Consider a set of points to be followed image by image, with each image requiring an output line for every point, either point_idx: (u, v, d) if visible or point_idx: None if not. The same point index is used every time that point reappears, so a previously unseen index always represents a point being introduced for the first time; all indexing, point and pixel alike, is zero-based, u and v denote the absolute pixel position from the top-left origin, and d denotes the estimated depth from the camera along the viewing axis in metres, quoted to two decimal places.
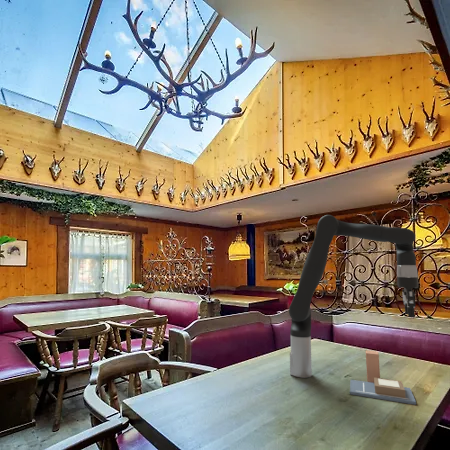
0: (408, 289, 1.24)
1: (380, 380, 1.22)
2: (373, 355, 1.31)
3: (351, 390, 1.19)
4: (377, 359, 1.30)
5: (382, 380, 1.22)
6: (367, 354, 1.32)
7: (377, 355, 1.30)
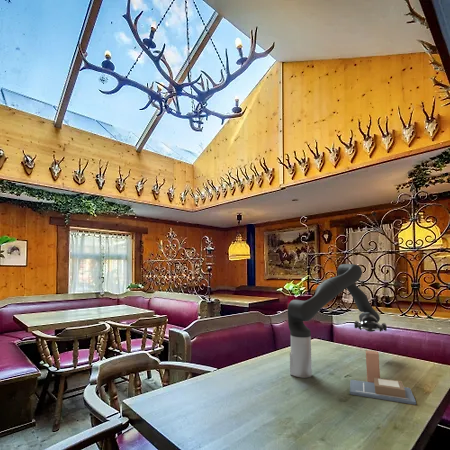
0: None
1: (380, 380, 1.22)
2: (373, 355, 1.31)
3: (351, 390, 1.19)
4: (377, 359, 1.30)
5: (382, 380, 1.22)
6: (367, 354, 1.32)
7: (377, 355, 1.30)
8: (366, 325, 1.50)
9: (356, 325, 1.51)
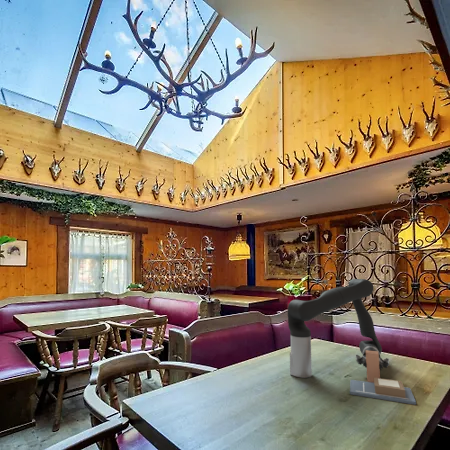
0: None
1: (380, 380, 1.22)
2: (373, 355, 1.31)
3: (351, 390, 1.19)
4: (377, 359, 1.30)
5: (382, 380, 1.22)
6: (367, 354, 1.32)
7: (377, 355, 1.30)
8: None
9: (360, 361, 1.36)
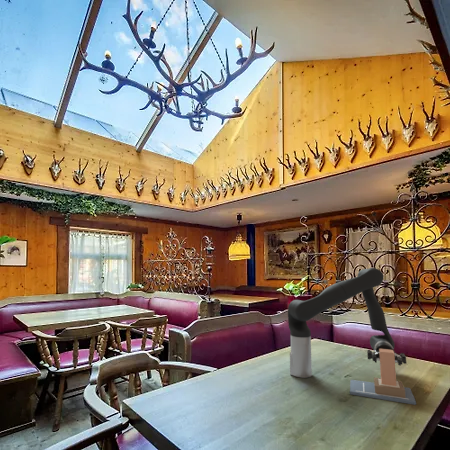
0: None
1: (380, 380, 1.22)
2: (388, 354, 1.18)
3: (351, 390, 1.19)
4: (392, 358, 1.18)
5: None
6: (381, 353, 1.19)
7: (392, 354, 1.18)
8: None
9: (370, 356, 1.25)
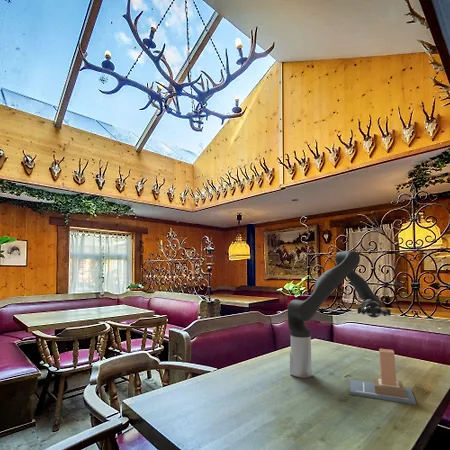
0: None
1: (380, 380, 1.22)
2: (388, 354, 1.18)
3: (351, 390, 1.19)
4: (392, 358, 1.18)
5: None
6: (381, 353, 1.19)
7: (392, 354, 1.18)
8: (369, 310, 1.47)
9: (359, 310, 1.47)
